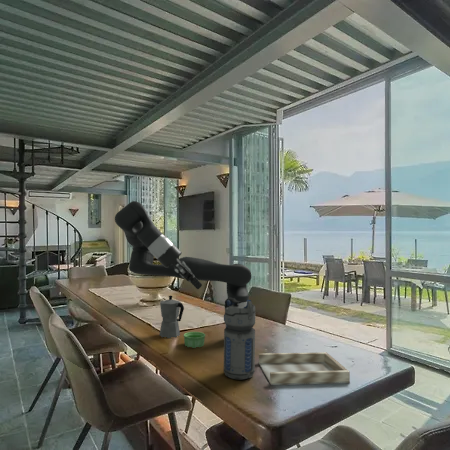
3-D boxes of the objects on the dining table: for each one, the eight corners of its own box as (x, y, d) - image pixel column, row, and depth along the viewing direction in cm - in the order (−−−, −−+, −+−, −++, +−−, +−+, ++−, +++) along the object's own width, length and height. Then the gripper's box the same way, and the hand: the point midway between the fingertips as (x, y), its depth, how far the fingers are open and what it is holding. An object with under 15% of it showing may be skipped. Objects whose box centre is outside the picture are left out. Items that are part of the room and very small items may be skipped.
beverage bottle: (236, 364, 122) (238, 293, 123) (262, 377, 112) (263, 299, 113) (213, 371, 116) (214, 296, 117) (237, 384, 106) (239, 302, 107)
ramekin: (188, 341, 150) (188, 330, 150) (208, 343, 147) (208, 332, 147) (179, 347, 141) (180, 336, 141) (200, 349, 139) (200, 338, 139)
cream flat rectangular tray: (270, 385, 106) (271, 373, 106) (258, 363, 124) (258, 353, 124) (349, 383, 109) (349, 371, 109) (326, 361, 127) (326, 352, 127)
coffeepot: (152, 334, 158) (153, 294, 159) (168, 330, 165) (169, 292, 166) (174, 341, 148) (175, 299, 149) (190, 337, 155) (191, 296, 156)
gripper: (158, 257, 124) (192, 292, 125) (154, 259, 111) (192, 298, 111) (173, 242, 125) (207, 277, 125) (171, 243, 111) (209, 281, 112)
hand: (200, 287), depth 118 cm, fingers closed
